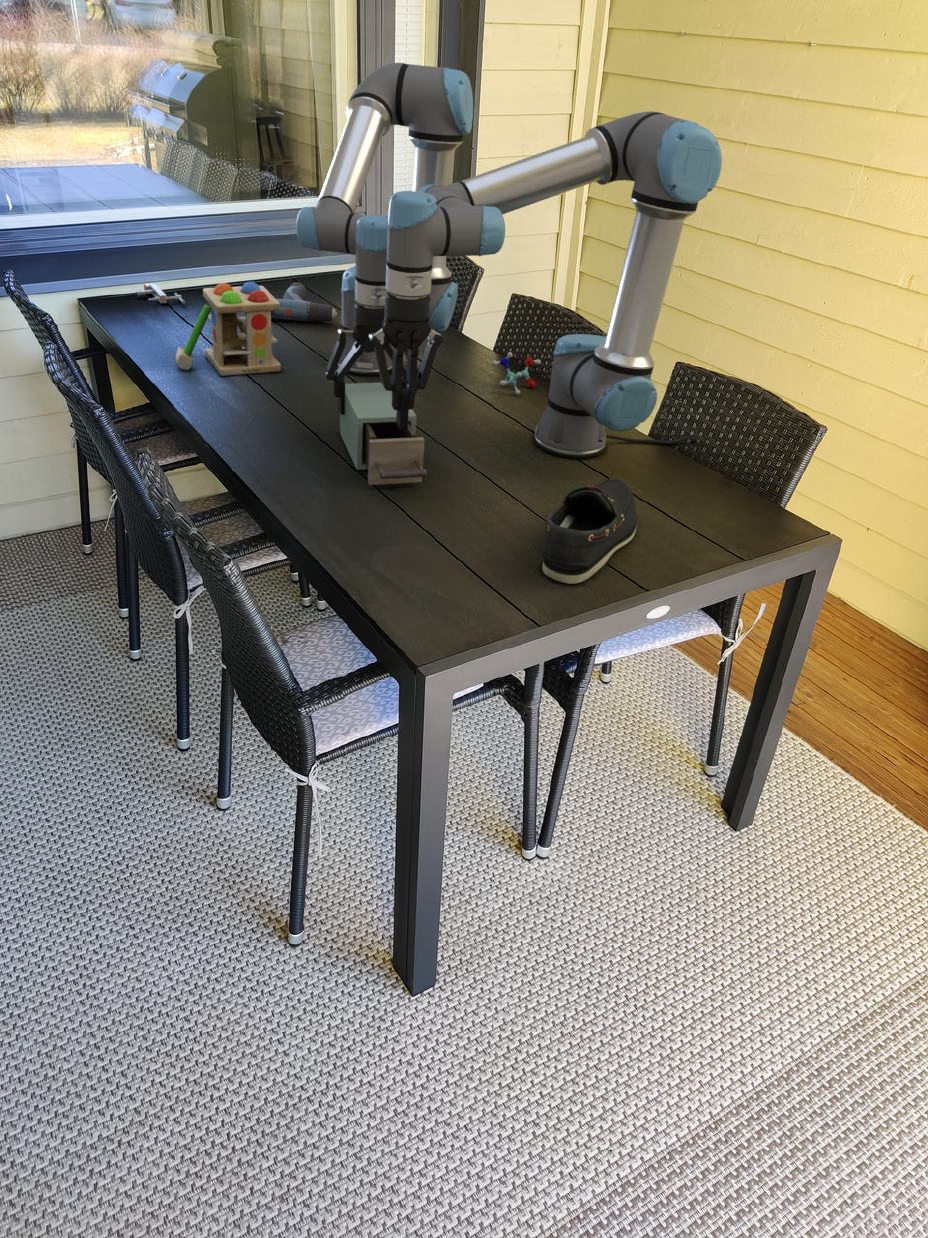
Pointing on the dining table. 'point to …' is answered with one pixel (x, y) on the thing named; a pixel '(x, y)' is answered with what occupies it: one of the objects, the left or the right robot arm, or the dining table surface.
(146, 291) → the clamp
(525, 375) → the molecular model
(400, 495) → the dining table surface
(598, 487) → the boat shoe
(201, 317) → the pounding bench toy
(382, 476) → the drawer
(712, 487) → the dining table surface
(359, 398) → the cabinet
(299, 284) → the power drill
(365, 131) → the left robot arm
